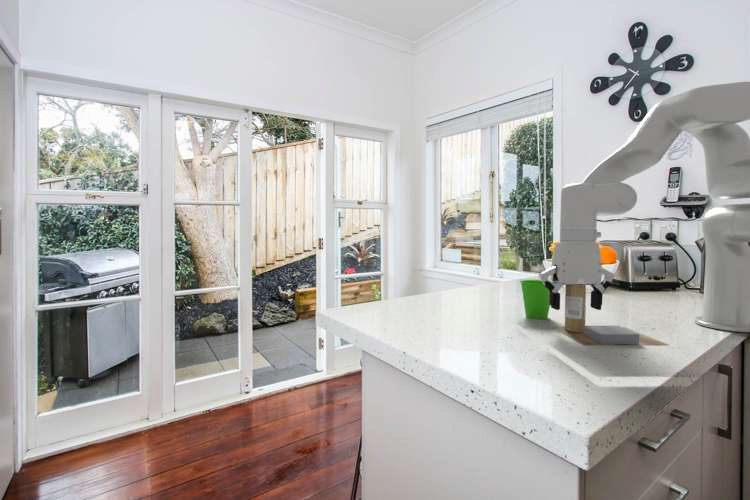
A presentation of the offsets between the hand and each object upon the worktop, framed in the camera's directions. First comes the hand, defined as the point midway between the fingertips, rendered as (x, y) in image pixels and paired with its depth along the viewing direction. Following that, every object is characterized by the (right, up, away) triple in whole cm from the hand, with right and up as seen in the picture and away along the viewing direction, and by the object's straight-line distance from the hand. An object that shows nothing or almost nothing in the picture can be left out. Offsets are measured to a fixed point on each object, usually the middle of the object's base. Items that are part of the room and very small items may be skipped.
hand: (575, 308), depth 88 cm
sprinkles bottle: (0, -6, 0) cm, 6 cm away
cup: (-3, -6, +14) cm, 16 cm away
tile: (+8, -5, -7) cm, 11 cm away
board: (+5, -7, -4) cm, 9 cm away
